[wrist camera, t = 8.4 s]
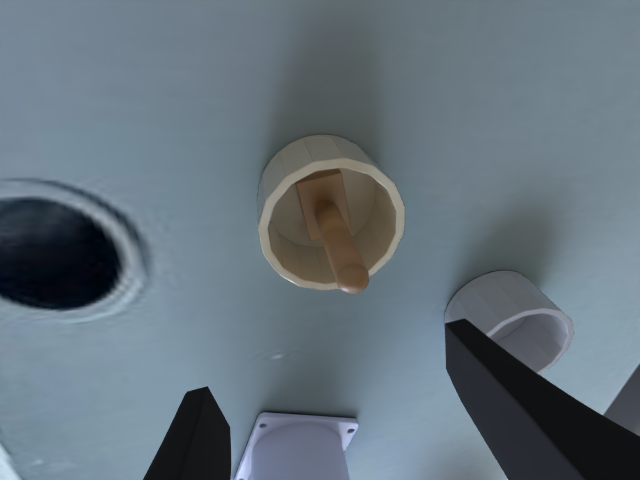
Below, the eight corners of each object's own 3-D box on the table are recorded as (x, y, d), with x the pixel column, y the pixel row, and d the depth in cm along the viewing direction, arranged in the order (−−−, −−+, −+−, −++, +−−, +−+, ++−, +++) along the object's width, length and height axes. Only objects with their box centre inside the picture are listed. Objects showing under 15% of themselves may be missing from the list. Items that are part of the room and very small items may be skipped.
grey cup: (501, 347, 28) (533, 390, 25) (428, 337, 26) (452, 381, 23) (550, 279, 25) (594, 317, 22) (473, 262, 24) (508, 300, 20)
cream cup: (354, 258, 22) (372, 299, 19) (245, 235, 20) (244, 277, 17) (398, 154, 19) (429, 181, 16) (276, 117, 17) (282, 139, 14)
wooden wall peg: (347, 220, 20) (391, 313, 14) (307, 231, 20) (333, 328, 14) (337, 164, 18) (382, 240, 12) (293, 175, 18) (315, 257, 12)
